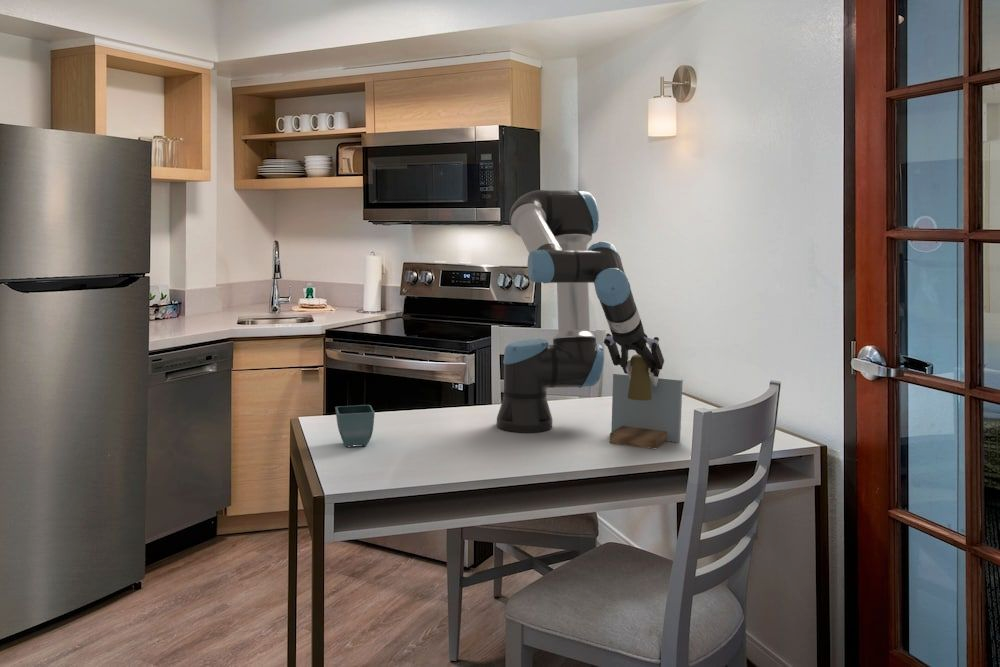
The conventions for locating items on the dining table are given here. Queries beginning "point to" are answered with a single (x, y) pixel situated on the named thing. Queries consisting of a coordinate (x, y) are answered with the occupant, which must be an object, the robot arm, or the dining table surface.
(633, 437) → the brown flat block
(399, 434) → the dining table surface
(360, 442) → the flower pot
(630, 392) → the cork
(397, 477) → the dining table surface
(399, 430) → the dining table surface
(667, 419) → the back board
